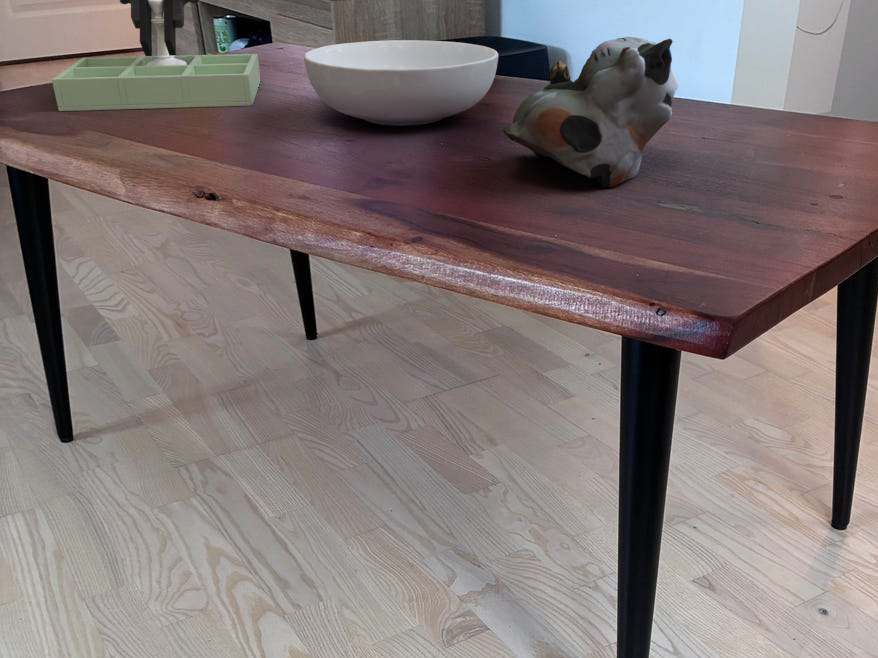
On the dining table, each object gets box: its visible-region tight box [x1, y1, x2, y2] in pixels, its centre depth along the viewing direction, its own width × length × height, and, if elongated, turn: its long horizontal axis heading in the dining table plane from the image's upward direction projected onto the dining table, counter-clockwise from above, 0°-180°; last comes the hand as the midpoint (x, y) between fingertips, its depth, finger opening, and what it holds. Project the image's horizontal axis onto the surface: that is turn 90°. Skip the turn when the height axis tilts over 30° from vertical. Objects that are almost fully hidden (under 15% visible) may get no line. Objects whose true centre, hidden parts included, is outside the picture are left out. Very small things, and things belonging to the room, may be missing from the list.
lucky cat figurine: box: [502, 36, 679, 188], centre depth 81 cm, size 15×12×14 cm
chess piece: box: [146, 0, 187, 66], centre depth 113 cm, size 5×5×10 cm
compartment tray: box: [51, 53, 261, 112], centre depth 112 cm, size 22×15×4 cm
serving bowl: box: [303, 39, 499, 127], centre depth 101 cm, size 21×21×7 cm
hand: (158, 48), depth 110 cm, fingers closed on chess piece, 2 cm apart
